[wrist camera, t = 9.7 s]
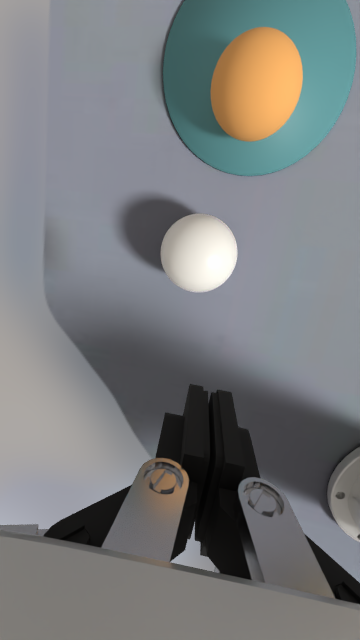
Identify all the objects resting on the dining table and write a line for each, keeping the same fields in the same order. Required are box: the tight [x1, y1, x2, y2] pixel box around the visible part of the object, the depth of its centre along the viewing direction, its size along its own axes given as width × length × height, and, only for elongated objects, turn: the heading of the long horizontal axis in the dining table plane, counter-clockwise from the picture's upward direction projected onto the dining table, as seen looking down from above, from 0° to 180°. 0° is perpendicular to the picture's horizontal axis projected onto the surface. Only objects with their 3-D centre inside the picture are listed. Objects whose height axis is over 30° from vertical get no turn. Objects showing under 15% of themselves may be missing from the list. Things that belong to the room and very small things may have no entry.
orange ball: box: [211, 27, 303, 142], centre depth 18 cm, size 6×6×6 cm
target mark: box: [163, 0, 356, 176], centre depth 20 cm, size 13×13×1 cm
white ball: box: [161, 214, 237, 292], centre depth 21 cm, size 6×6×6 cm
